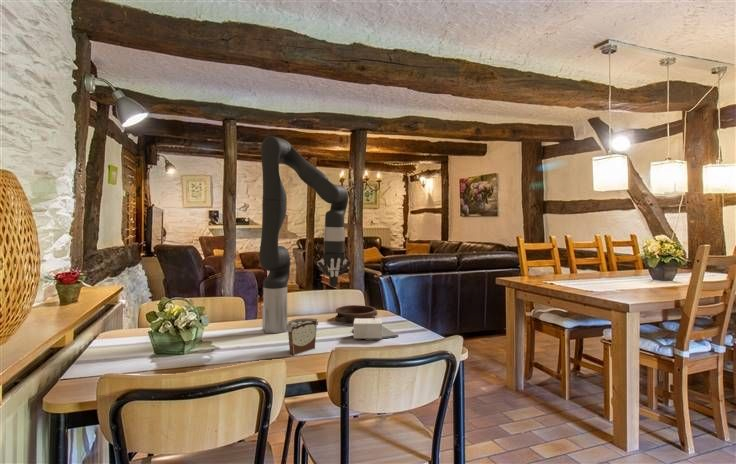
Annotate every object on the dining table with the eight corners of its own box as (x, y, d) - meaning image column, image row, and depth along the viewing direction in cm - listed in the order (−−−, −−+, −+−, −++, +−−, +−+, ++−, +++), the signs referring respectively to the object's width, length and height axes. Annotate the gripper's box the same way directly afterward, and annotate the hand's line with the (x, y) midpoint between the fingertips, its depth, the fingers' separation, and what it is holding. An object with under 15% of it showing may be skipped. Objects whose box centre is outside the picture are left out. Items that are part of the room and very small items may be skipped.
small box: (353, 338, 154) (382, 338, 154) (353, 323, 154) (382, 323, 153) (354, 332, 162) (381, 332, 162) (354, 318, 162) (381, 318, 161)
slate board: (366, 340, 154) (366, 338, 154) (352, 331, 167) (352, 329, 167) (398, 337, 159) (398, 334, 159) (382, 328, 172) (382, 326, 172)
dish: (323, 320, 185) (323, 308, 185) (363, 313, 199) (363, 302, 199) (347, 328, 172) (347, 316, 172) (388, 320, 186) (388, 309, 186)
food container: (305, 344, 149) (306, 316, 149) (318, 347, 145) (318, 318, 145) (278, 352, 140) (278, 322, 139) (290, 356, 136) (290, 325, 135)
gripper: (347, 238, 161) (346, 284, 161) (313, 238, 155) (312, 285, 156) (354, 240, 154) (353, 287, 154) (319, 240, 148) (318, 289, 149)
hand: (333, 286), depth 155 cm, fingers closed
